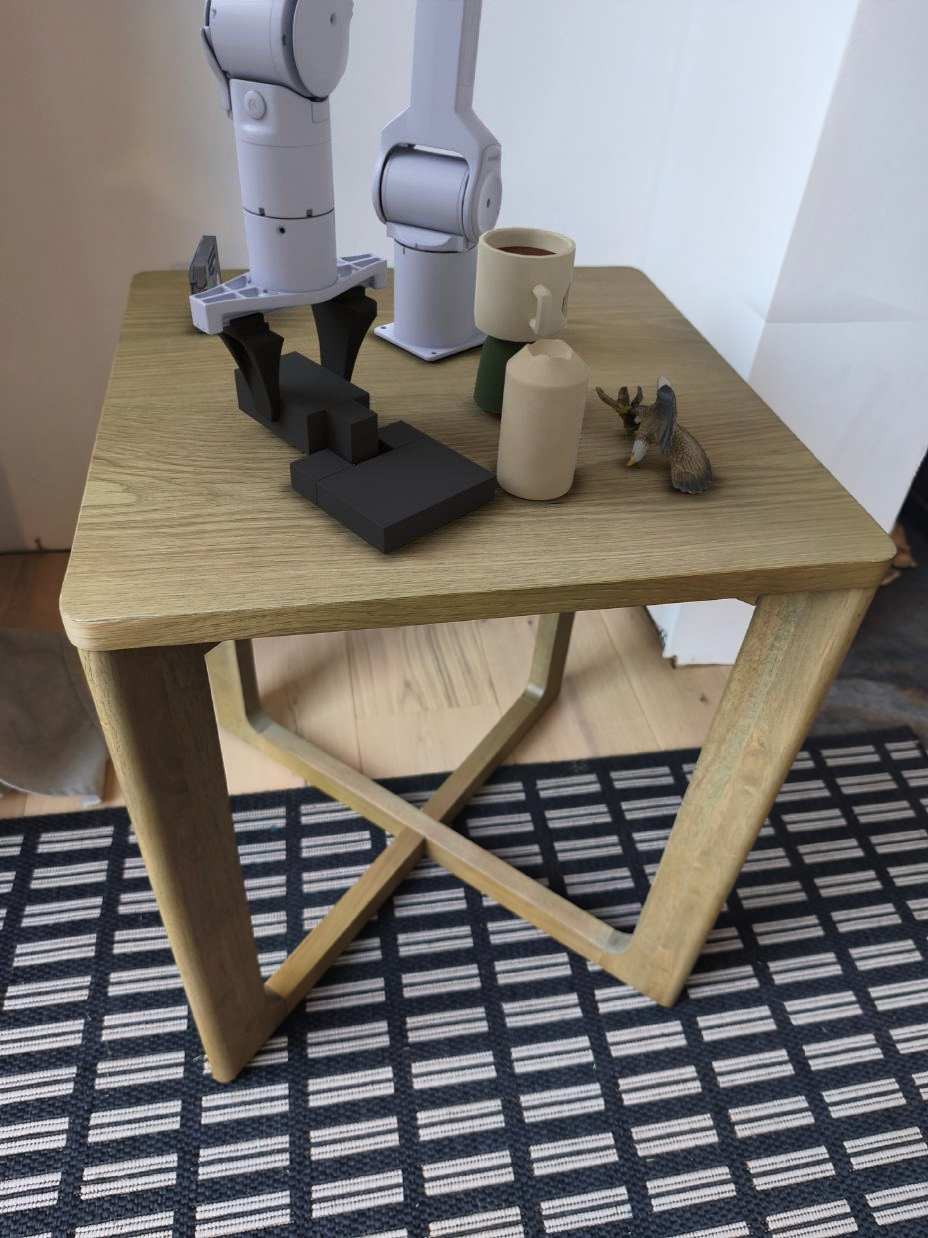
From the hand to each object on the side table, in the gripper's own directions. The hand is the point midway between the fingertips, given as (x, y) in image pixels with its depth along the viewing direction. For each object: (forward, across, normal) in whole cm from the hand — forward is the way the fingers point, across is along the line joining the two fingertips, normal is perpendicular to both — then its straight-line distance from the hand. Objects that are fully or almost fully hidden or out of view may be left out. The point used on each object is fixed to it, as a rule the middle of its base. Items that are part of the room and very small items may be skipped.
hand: (303, 403), depth 63 cm
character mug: (+3, -16, +6) cm, 17 cm away
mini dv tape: (+3, -7, -24) cm, 25 cm away
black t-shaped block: (+1, 0, +1) cm, 2 cm away
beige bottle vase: (+3, -9, +15) cm, 18 cm away
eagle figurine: (+3, -18, +19) cm, 26 cm away
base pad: (+3, 0, +10) cm, 11 cm away
